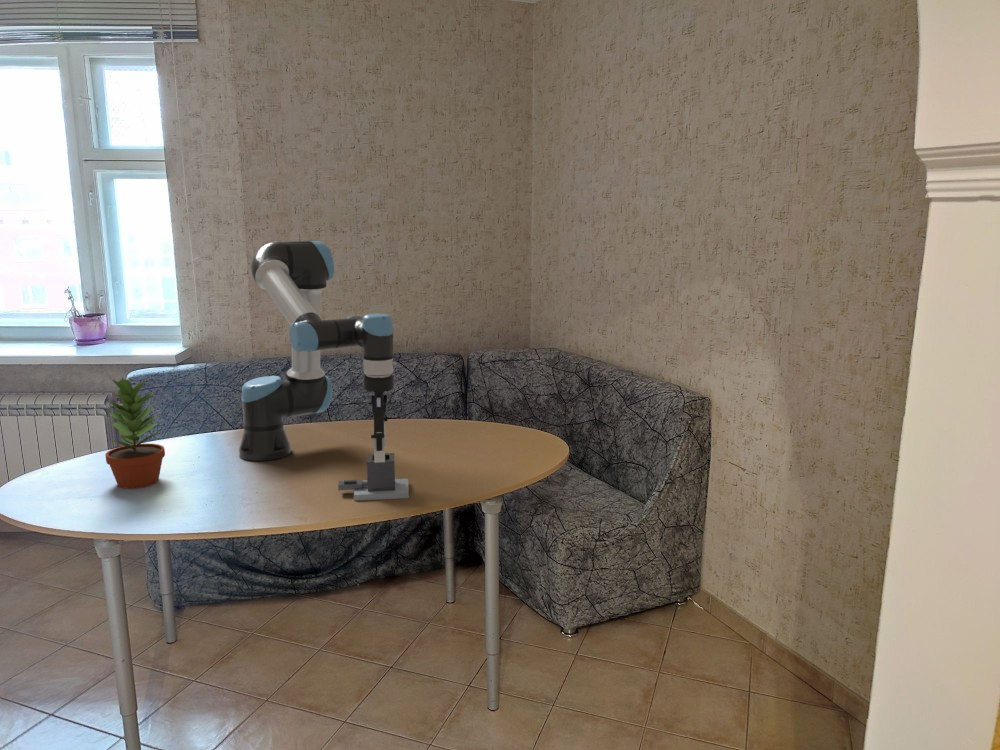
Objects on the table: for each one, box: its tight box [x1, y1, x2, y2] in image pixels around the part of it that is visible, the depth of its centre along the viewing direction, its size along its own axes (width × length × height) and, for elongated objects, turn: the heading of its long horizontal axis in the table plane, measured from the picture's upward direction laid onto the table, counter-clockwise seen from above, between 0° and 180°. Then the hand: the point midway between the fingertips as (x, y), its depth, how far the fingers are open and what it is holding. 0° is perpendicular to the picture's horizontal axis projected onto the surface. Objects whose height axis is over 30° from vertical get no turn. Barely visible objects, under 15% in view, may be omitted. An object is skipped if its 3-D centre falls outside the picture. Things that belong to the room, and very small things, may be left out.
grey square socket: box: [337, 452, 396, 492], centre depth 199 cm, size 15×7×8 cm, turn 98°
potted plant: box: [105, 376, 166, 490], centre depth 204 cm, size 15×15×30 cm
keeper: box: [353, 478, 410, 501], centre depth 200 cm, size 14×11×8 cm
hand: (380, 453), depth 199 cm, fingers open, 13 cm apart
